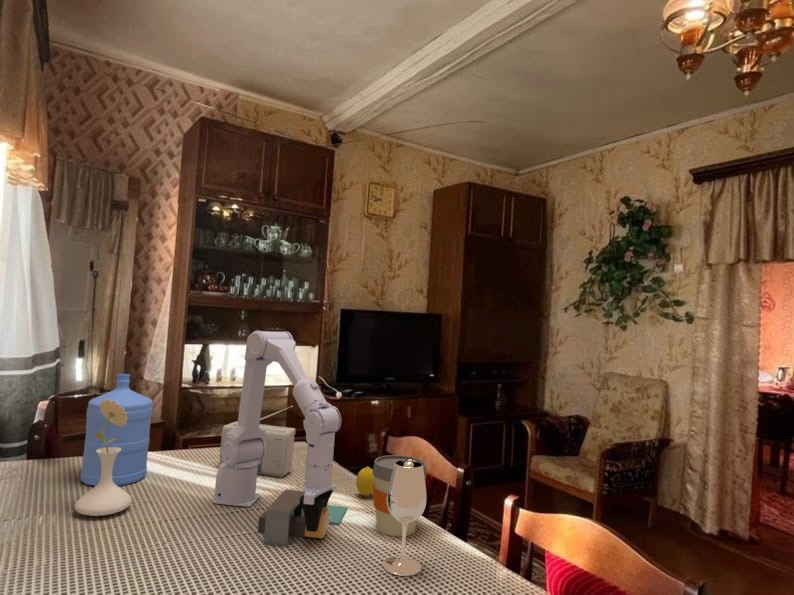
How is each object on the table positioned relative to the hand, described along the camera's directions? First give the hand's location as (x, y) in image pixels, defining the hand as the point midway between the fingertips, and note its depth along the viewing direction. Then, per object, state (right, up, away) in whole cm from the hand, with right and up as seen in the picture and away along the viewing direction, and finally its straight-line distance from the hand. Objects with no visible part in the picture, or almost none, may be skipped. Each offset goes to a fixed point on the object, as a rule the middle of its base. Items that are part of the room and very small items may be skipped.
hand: (314, 526), depth 110 cm
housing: (-7, -2, +1) cm, 7 cm away
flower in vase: (-50, +1, +6) cm, 50 cm away
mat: (0, -3, +12) cm, 12 cm away
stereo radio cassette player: (-24, -2, +41) cm, 48 cm away
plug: (0, -2, 0) cm, 2 cm away
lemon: (+9, -4, +26) cm, 28 cm away
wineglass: (+19, -3, -11) cm, 22 cm away
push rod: (-7, -2, +1) cm, 7 cm away
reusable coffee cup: (+18, -4, +7) cm, 19 cm away
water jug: (-59, +1, +27) cm, 65 cm away
